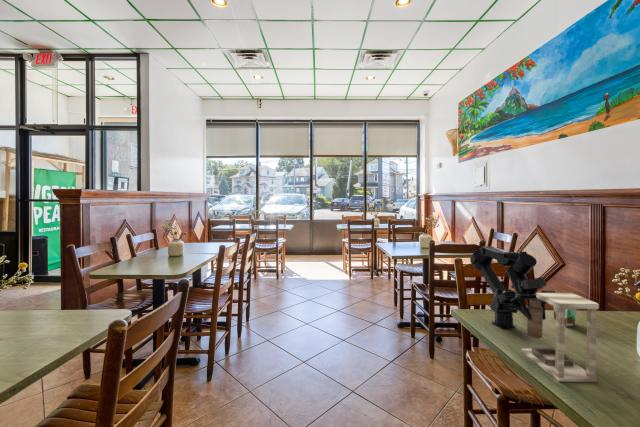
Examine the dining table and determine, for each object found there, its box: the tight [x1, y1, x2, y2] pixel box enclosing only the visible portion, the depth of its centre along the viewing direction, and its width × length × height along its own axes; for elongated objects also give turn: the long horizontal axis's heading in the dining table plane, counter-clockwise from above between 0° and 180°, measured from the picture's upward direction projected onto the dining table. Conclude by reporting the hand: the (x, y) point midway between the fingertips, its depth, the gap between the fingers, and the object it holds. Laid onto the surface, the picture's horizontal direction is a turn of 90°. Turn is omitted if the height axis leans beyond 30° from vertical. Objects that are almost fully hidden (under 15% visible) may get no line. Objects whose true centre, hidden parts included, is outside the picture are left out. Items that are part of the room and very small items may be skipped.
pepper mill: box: [526, 299, 544, 339], centre depth 110 cm, size 4×4×13 cm
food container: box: [552, 305, 578, 328], centre depth 132 cm, size 12×6×10 cm, turn 168°
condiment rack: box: [521, 292, 600, 383], centre depth 99 cm, size 18×11×24 cm, turn 177°
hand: (537, 319), depth 109 cm, fingers closed on pepper mill, 4 cm apart
